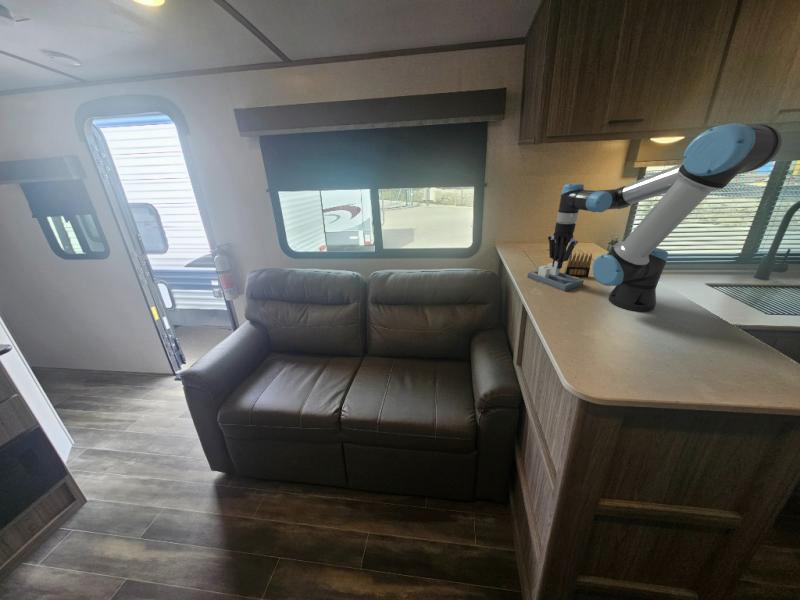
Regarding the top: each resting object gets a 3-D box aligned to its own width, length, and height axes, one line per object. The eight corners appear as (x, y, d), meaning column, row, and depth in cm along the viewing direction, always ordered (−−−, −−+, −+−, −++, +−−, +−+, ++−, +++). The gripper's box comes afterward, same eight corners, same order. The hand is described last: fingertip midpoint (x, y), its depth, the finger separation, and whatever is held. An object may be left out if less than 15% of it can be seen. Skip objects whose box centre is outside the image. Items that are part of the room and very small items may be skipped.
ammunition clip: (564, 276, 149) (569, 253, 144) (563, 275, 151) (568, 251, 146) (588, 277, 147) (594, 253, 142) (586, 276, 149) (592, 252, 144)
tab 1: (548, 278, 143) (550, 266, 141) (544, 279, 142) (546, 268, 139) (541, 275, 146) (543, 264, 144) (537, 276, 145) (539, 265, 143)
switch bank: (582, 285, 138) (584, 279, 137) (564, 291, 132) (565, 285, 131) (545, 272, 154) (546, 267, 153) (527, 277, 148) (528, 271, 147)
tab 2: (556, 274, 147) (559, 264, 144) (552, 276, 145) (555, 265, 143) (549, 272, 150) (551, 261, 148) (545, 273, 149) (547, 262, 146)
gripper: (586, 223, 124) (573, 277, 134) (557, 219, 135) (548, 269, 145) (574, 225, 121) (563, 280, 131) (546, 221, 132) (537, 272, 141)
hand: (555, 274), depth 138 cm, fingers closed
